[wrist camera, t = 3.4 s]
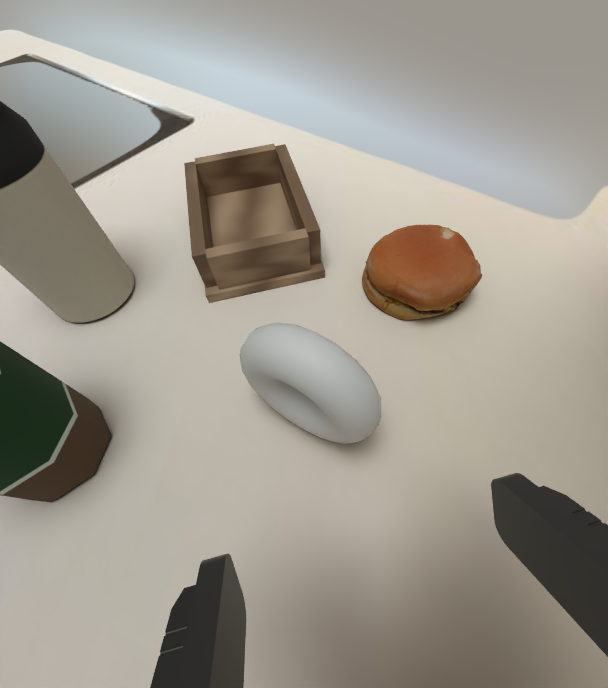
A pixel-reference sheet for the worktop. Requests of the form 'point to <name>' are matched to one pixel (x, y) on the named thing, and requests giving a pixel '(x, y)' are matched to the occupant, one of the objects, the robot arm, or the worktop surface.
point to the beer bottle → (44, 432)
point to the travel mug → (53, 232)
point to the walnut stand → (250, 222)
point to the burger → (420, 272)
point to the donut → (311, 382)
